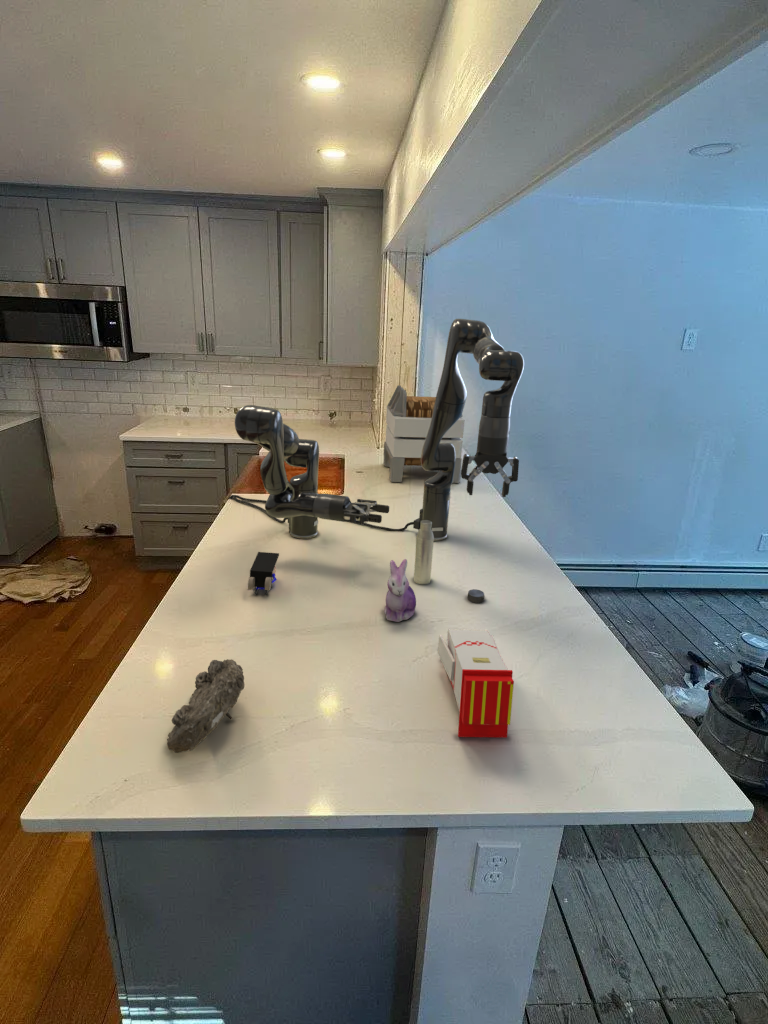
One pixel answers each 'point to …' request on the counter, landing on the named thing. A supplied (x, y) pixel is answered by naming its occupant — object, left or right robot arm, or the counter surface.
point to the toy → (478, 682)
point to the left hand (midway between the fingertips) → (385, 514)
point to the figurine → (399, 594)
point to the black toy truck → (263, 572)
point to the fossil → (206, 705)
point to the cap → (475, 596)
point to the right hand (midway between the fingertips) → (486, 495)
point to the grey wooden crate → (414, 433)
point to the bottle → (423, 553)
